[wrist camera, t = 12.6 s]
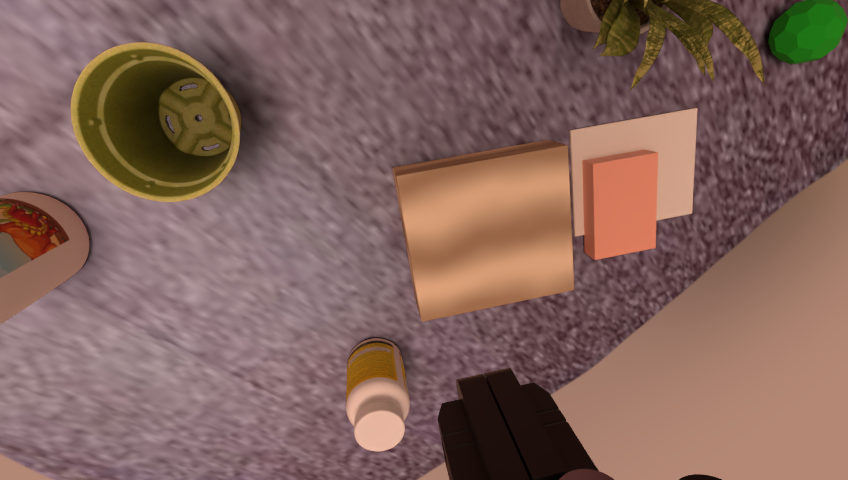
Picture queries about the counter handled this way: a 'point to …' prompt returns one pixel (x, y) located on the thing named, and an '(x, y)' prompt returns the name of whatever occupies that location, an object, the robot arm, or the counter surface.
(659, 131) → the mat
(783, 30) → the polyhedron
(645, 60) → the house plant
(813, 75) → the counter surface
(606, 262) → the counter surface
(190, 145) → the plant pot
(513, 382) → the robot arm
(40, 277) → the milk bottle
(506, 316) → the counter surface
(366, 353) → the supplement bottle
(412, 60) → the counter surface
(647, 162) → the salmon orange flat block
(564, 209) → the wooden block
